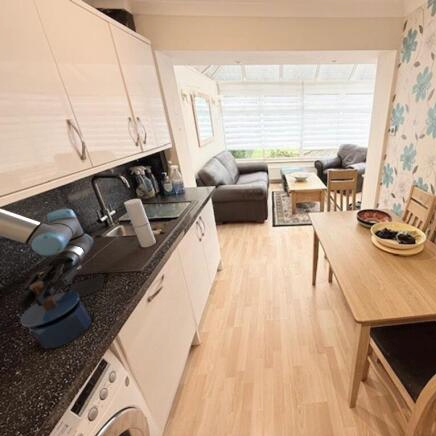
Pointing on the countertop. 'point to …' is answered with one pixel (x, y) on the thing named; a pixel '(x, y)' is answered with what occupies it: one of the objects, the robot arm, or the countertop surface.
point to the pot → (62, 327)
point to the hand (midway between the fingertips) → (30, 304)
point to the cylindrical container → (140, 222)
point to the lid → (48, 306)
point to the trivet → (88, 286)
